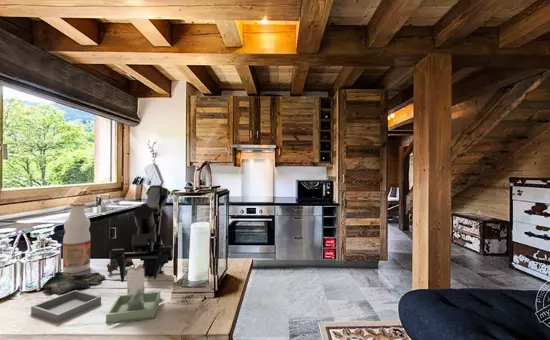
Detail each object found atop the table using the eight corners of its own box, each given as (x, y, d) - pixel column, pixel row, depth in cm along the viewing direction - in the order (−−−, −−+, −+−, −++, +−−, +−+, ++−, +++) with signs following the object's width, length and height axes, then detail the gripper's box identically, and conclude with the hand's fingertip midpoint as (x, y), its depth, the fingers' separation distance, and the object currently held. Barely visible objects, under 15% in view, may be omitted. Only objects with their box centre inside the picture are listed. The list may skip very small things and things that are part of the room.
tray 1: (75, 297, 91) (75, 289, 91) (101, 304, 86) (101, 296, 86) (31, 315, 80) (31, 306, 80) (57, 324, 75) (58, 315, 75)
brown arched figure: (133, 277, 111) (121, 261, 109) (111, 287, 111) (99, 271, 108) (142, 260, 122) (132, 245, 120) (122, 269, 122) (112, 255, 120)
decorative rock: (94, 264, 113) (116, 267, 106) (93, 279, 113) (115, 284, 105) (37, 275, 97) (58, 281, 89) (35, 294, 96) (57, 300, 89)
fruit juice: (58, 270, 115) (59, 203, 116) (83, 264, 123) (84, 201, 124) (69, 275, 111) (70, 205, 111) (94, 268, 119) (95, 202, 119)
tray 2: (118, 303, 87) (118, 295, 87) (160, 299, 91) (160, 291, 91) (105, 324, 76) (106, 314, 76) (154, 318, 79) (154, 309, 79)
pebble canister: (130, 305, 85) (131, 263, 85) (146, 304, 86) (146, 262, 86) (124, 312, 81) (124, 268, 81) (140, 312, 81) (141, 268, 81)
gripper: (110, 224, 89) (98, 271, 79) (172, 222, 94) (168, 265, 83) (117, 242, 97) (107, 287, 86) (174, 239, 102) (170, 281, 91)
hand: (138, 280), depth 87 cm, fingers open, 9 cm apart
